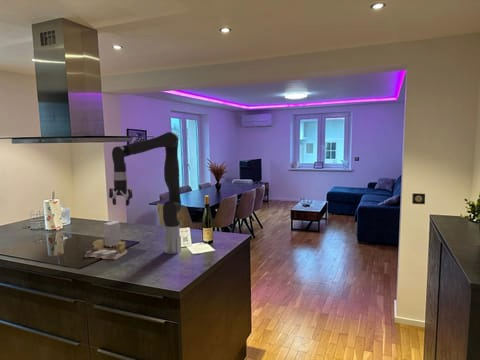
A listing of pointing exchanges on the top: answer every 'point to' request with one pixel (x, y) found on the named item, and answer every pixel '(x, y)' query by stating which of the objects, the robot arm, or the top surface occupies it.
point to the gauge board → (109, 252)
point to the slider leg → (98, 245)
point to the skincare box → (112, 233)
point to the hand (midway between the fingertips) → (121, 205)
